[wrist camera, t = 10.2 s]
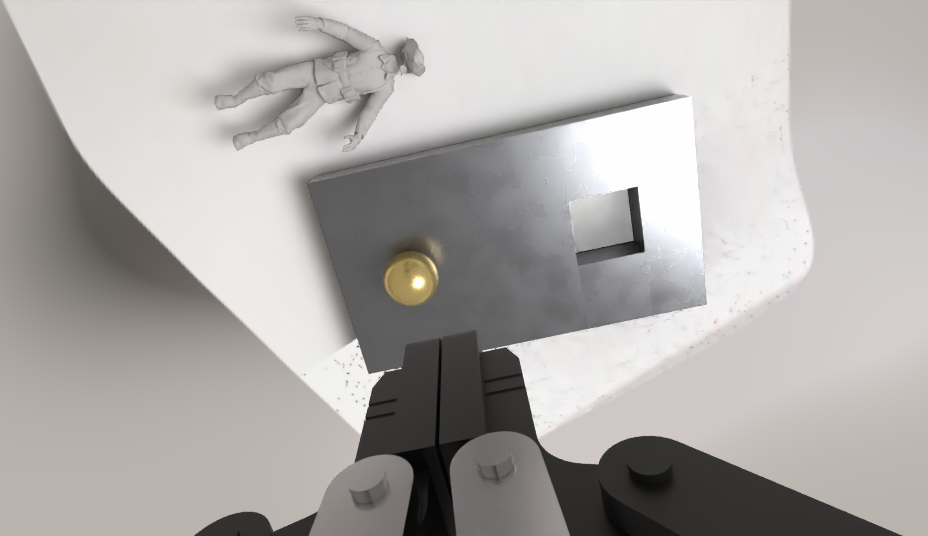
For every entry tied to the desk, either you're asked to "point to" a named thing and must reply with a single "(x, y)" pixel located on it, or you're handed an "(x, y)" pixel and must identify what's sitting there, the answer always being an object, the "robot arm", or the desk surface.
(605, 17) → the desk surface
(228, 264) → the desk surface
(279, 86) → the soldier figure
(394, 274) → the brass knob
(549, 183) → the bore plate
